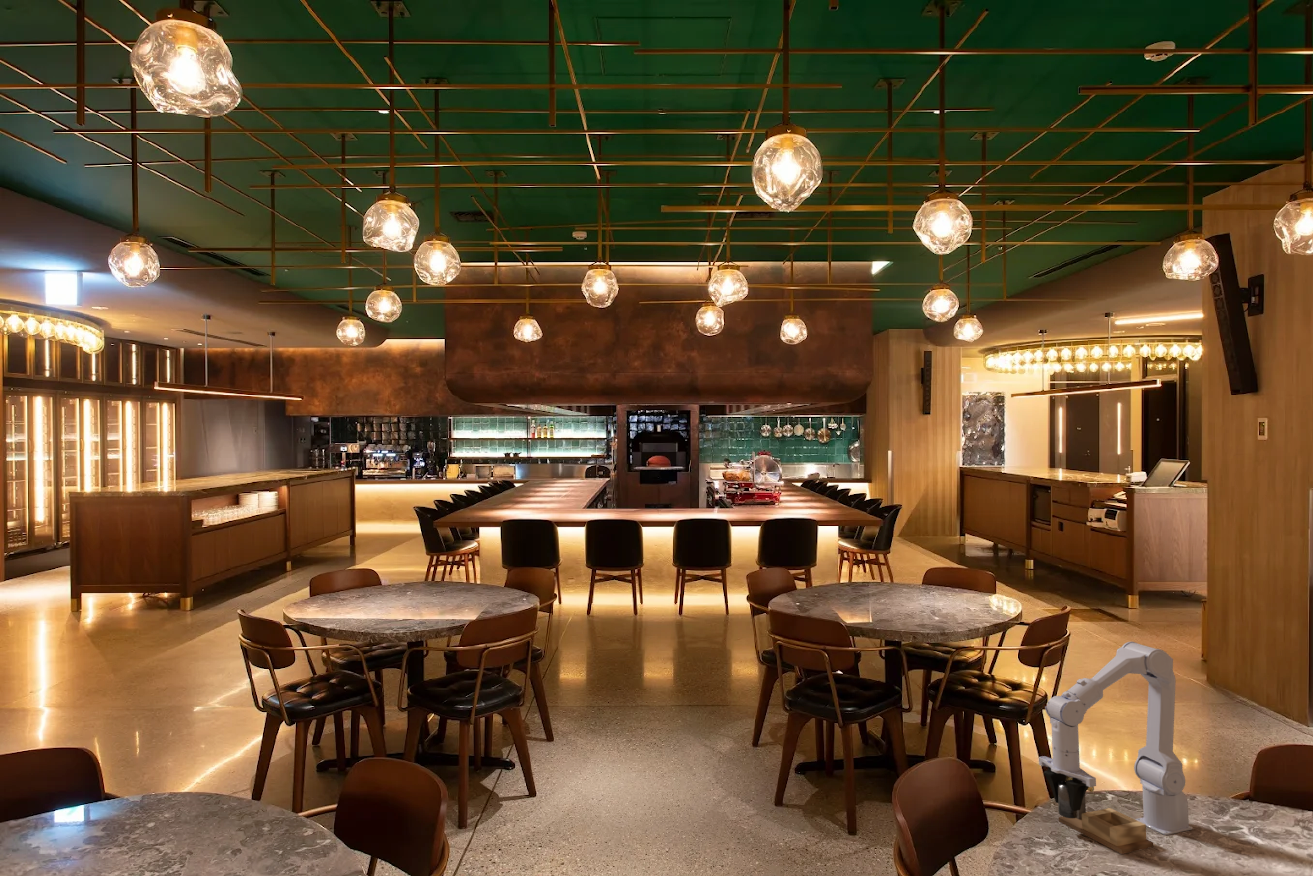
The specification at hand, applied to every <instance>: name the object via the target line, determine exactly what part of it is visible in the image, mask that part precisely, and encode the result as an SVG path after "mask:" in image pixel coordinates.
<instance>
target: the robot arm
mask: <svg viewBox="0 0 1313 876" xmlns="http://www.w3.org/2000/svg"><path fill="white" fill-rule="evenodd" d="M1173 669H1174V658H1173V657H1171V655H1169V654H1168V653H1167V651H1164V650H1163V649H1161V648H1154V647H1150V646H1148V645H1145V644H1140V643H1138V642H1136V641H1127V642H1125V643H1123V644H1122V646H1121V647H1119V648H1117V650H1116V654H1115V656H1114V657H1113V658H1111V660H1110V661H1109V662H1108V663H1106V664H1105V665H1104V666H1103V667H1102V668H1101V669H1100V670H1099V671H1098V672H1097V673H1096V674H1094V676H1093V677H1091V678H1088V677H1082V678H1078V679H1077V680H1076V683H1075V684H1074V685H1073V686H1071V687H1070V688H1068V689H1067V690H1065V691H1063V692H1062V694H1061V695H1054V696H1053V697H1050V699H1049V700H1048V701H1047V703H1046V706H1044V710H1045V712H1046V715H1047V716H1048V717H1049V723H1050V724H1051V743H1052V744H1051V745H1052V748H1051V749H1052V758H1051V757H1048V756H1045V755H1044V756H1043V755H1042V756H1039V757H1038V765H1039V766H1041V767H1045V768H1047V770H1044V771H1043V775H1044V777H1045V778H1046V780H1047V781H1048V783H1049V786H1050V789H1051V791H1052V794H1053V798H1054V802H1055V803H1056V804H1058V784H1057V783H1058V782H1066V785H1067V787H1068V790H1069V795H1070V805H1071V809H1072V810H1073V811H1077V810H1080V808H1081V804H1082V800H1083V797H1084V795H1085V796H1086V793H1087V792H1088V790H1087V789H1088V788H1089V787H1094V788H1095V787H1097V778H1096V777H1095V776H1093V775H1091V774H1090V773H1089V772H1087V771H1085V770H1083V769H1082V768H1081V765H1080V763H1081V762H1080V740H1079V738H1080V737H1079V725H1080V724H1082V722H1083V720H1084V717H1085V715H1086V713H1087V712H1088V710H1089V709H1090V708H1091V707H1093V706H1094V705H1095V704H1097V703H1098V702H1099V701H1101V700H1102V699H1104V690H1106V689H1107V688H1108V687H1110V686H1112V685H1113V684H1115V683H1116V682H1118V681H1119V680H1121V679H1122V678H1124V677H1126V676H1127V675H1129V674H1132V675H1133V674H1134V675H1136V674H1137V675H1140V676H1142V677H1143V678H1144V679H1145V680H1146V681H1147V683H1148V689H1147V690H1148V694H1147V695H1148V696H1147V716H1146V742H1145V746H1143V747H1141V748H1140V749H1138V750H1137V751H1138V752H1137V756H1136V757H1137V758H1136V759H1135V762H1134V764H1133V765H1134V766H1133V771H1134V773H1135V775H1136V777H1137V778H1139V781H1140V784H1141V785H1142V807H1143V809H1142V810H1143V817H1140V818H1139V817H1138V818H1135V820H1137V821H1139V822H1141V823H1144V824H1146V828H1149V829H1151V830H1153V831H1156V832H1157V833H1160V834H1162V835H1165V836H1168V835H1169V836H1170V835H1174V834H1177V833H1182V832H1186V831H1191V830H1193V826H1190V823H1189V822H1190V820H1189V801H1188V798H1187V796H1186V794H1185V793H1184V791H1183V790H1184V788H1185V786H1186V777H1185V774H1184V771H1183V763H1182V761H1181V760H1180V759H1179V758H1178V756H1177V755H1176V753H1174V736H1175V735H1174V733H1175V708H1176V705H1175V704H1176V681H1177V680H1176V675H1175V673H1174V670H1173ZM1067 776H1069V777H1071V778H1072V780H1068V781H1066V777H1067Z"/></svg>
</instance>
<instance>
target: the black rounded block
mask: <svg viewBox="0 0 1313 876" xmlns="http://www.w3.org/2000/svg"><path fill="white" fill-rule="evenodd" d="M1057 784H1058V803H1057V809H1058V814H1059V815H1060V817H1066V818H1077V811H1073V810H1072V809H1071V805H1070V795H1069V790H1068V787H1067V785H1066V781H1065V782H1058V783H1057Z"/></svg>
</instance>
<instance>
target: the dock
mask: <svg viewBox="0 0 1313 876" xmlns="http://www.w3.org/2000/svg"><path fill="white" fill-rule="evenodd" d="M1086 802H1087V801H1086V794H1085V795H1084V797H1083V800H1082V804H1081V808H1080V810H1077V818H1066V817H1063V816H1059V817H1058V822H1059V823H1061V824H1062V825H1065V826H1066V827H1069V828H1070V829H1072V830H1075V831H1077V832H1078V833H1080V834H1082V835H1084V836H1086V837H1088V838H1090V839H1092V840H1094V841H1096V842H1097V843H1099V844H1101V845H1104V846H1105V847H1107V848H1109V849H1111V850H1112V851H1115V852H1117V853H1119V854H1121V855H1123V854H1128V853H1133V852H1138V851H1143V850H1147V849H1150V848H1154V842H1153V841H1152V840H1149V839H1148V838H1147V826H1146V824H1144V823H1141V822H1139V821H1137V820H1135V819H1136V818H1135V819H1134V818H1133V817H1130V816H1128V815H1127V814H1124V813H1122V812H1119V811H1117V810H1115V809H1113V808H1112V807H1108V808H1103V809H1102V808H1101V809H1097V810H1094V811H1093V810H1092V811H1087V810H1086V809H1087V808H1086V807H1087V805H1086Z"/></svg>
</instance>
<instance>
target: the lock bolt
mask: <svg viewBox="0 0 1313 876" xmlns="http://www.w3.org/2000/svg"><path fill="white" fill-rule="evenodd" d="M1068 780H1072V778H1071V777H1069V776H1067V777H1066V781H1068ZM1066 781H1065V782H1066ZM1094 791H1095V786H1094V787H1089V788H1088V789H1087V792H1090V793H1093V792H1094Z"/></svg>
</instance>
